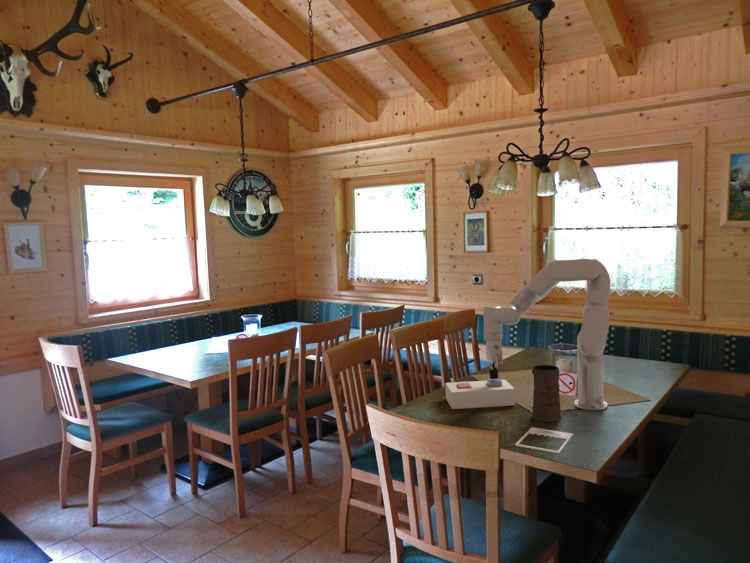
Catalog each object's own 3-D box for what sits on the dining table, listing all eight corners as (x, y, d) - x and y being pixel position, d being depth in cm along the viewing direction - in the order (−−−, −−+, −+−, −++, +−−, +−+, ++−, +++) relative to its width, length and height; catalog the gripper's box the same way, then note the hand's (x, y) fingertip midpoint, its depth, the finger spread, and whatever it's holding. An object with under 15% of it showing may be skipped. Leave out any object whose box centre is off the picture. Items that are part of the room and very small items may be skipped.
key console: (515, 405, 231) (514, 388, 230) (452, 409, 230) (451, 392, 229) (505, 395, 245) (505, 379, 244) (446, 398, 244) (445, 382, 243)
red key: (471, 395, 234) (471, 386, 234) (459, 396, 234) (459, 386, 234) (468, 392, 239) (468, 382, 239) (457, 392, 239) (456, 383, 239)
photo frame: (573, 433, 196) (559, 451, 181) (573, 436, 196) (559, 455, 181) (531, 426, 204) (515, 443, 189) (531, 429, 204) (515, 446, 189)
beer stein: (567, 421, 210) (565, 368, 209) (540, 424, 208) (538, 370, 207) (548, 411, 225) (546, 361, 224) (523, 413, 223) (520, 363, 223)
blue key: (502, 390, 235) (501, 381, 234) (490, 391, 234) (489, 382, 234) (498, 387, 240) (498, 378, 239) (487, 388, 239) (487, 378, 239)
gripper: (507, 338, 228) (507, 383, 229) (497, 331, 242) (498, 373, 244) (488, 339, 227) (489, 383, 229) (480, 332, 242) (480, 374, 244)
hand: (493, 378), depth 237 cm, fingers closed
